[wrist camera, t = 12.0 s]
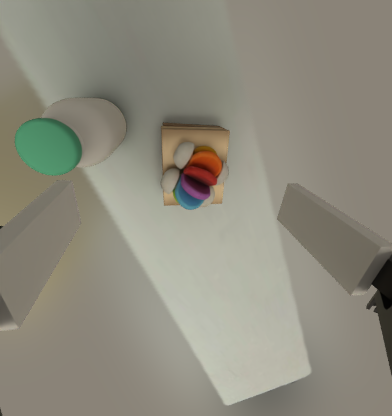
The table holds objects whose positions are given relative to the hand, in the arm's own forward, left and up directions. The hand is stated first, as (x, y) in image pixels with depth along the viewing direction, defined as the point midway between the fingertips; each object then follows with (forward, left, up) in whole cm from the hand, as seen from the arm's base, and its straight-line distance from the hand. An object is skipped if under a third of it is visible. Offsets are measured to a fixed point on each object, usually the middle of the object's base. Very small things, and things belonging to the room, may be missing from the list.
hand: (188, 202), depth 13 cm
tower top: (+4, +4, -24) cm, 24 cm away
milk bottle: (-1, -11, -27) cm, 29 cm away
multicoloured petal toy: (+4, +4, -20) cm, 21 cm away
